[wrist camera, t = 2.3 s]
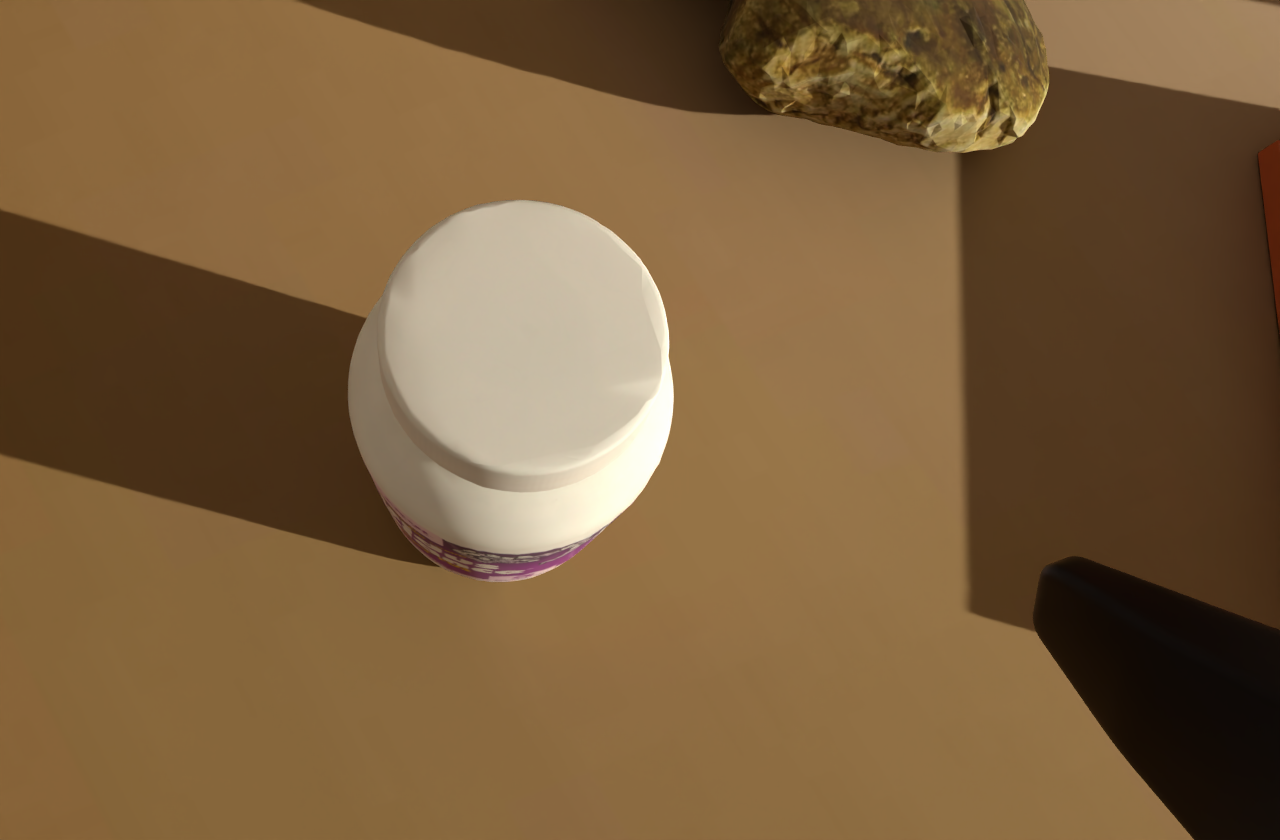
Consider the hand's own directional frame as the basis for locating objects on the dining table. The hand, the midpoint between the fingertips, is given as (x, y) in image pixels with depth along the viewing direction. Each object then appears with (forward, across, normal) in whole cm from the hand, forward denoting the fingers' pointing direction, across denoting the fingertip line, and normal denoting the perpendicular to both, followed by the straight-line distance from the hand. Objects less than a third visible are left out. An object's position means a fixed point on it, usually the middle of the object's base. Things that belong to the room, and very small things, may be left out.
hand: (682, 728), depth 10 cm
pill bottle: (+12, 0, +5) cm, 13 cm away
